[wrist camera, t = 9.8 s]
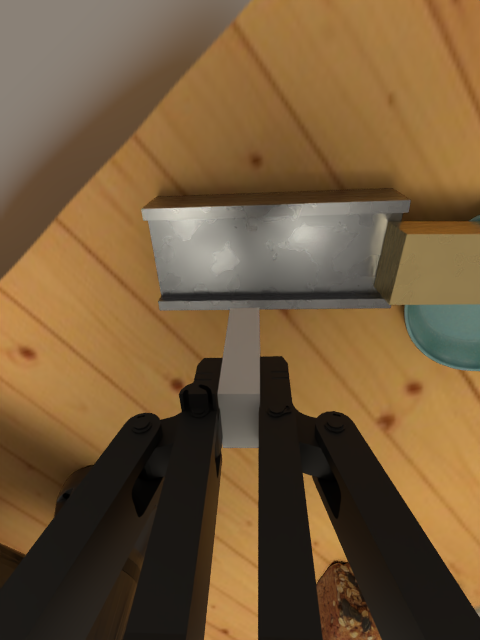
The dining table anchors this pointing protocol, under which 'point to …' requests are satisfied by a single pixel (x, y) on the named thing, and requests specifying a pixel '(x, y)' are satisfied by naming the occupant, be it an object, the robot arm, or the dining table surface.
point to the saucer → (447, 332)
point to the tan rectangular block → (430, 263)
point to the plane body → (271, 248)
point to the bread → (344, 606)
